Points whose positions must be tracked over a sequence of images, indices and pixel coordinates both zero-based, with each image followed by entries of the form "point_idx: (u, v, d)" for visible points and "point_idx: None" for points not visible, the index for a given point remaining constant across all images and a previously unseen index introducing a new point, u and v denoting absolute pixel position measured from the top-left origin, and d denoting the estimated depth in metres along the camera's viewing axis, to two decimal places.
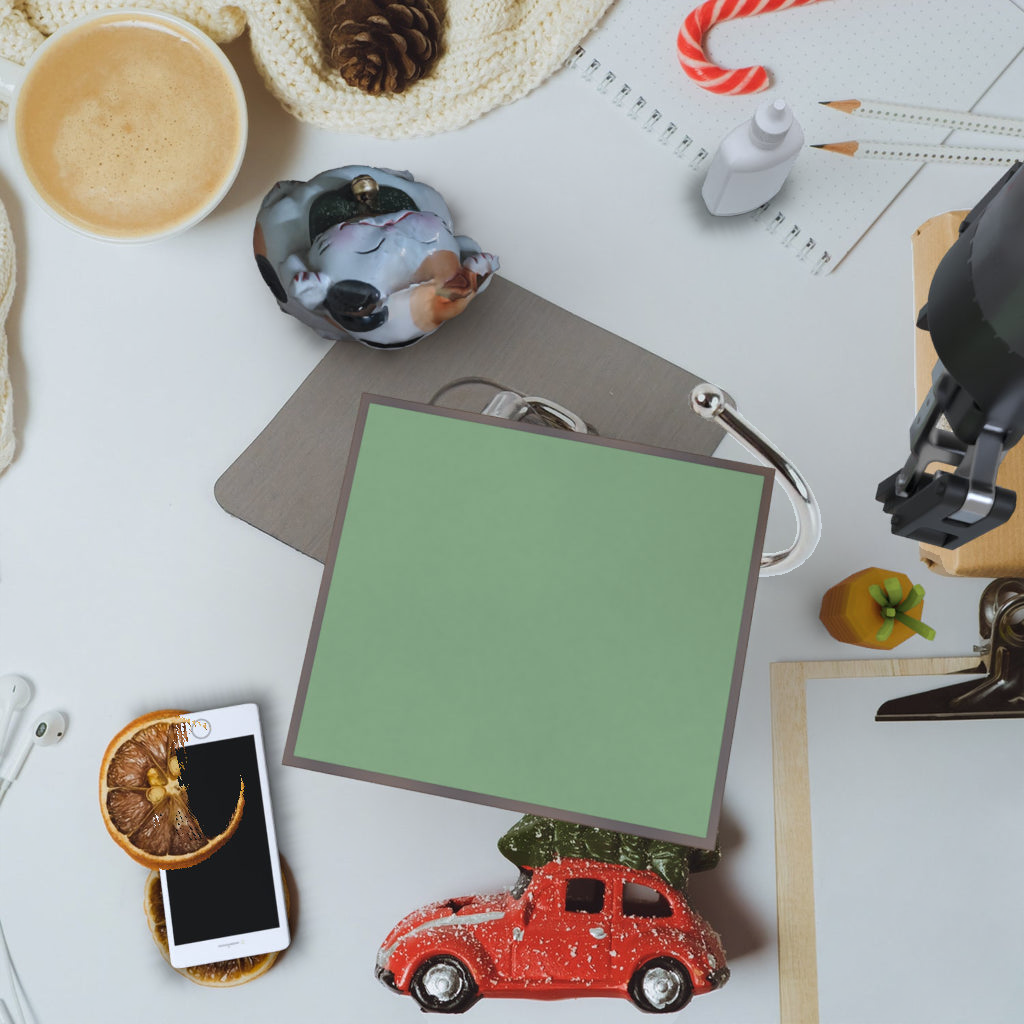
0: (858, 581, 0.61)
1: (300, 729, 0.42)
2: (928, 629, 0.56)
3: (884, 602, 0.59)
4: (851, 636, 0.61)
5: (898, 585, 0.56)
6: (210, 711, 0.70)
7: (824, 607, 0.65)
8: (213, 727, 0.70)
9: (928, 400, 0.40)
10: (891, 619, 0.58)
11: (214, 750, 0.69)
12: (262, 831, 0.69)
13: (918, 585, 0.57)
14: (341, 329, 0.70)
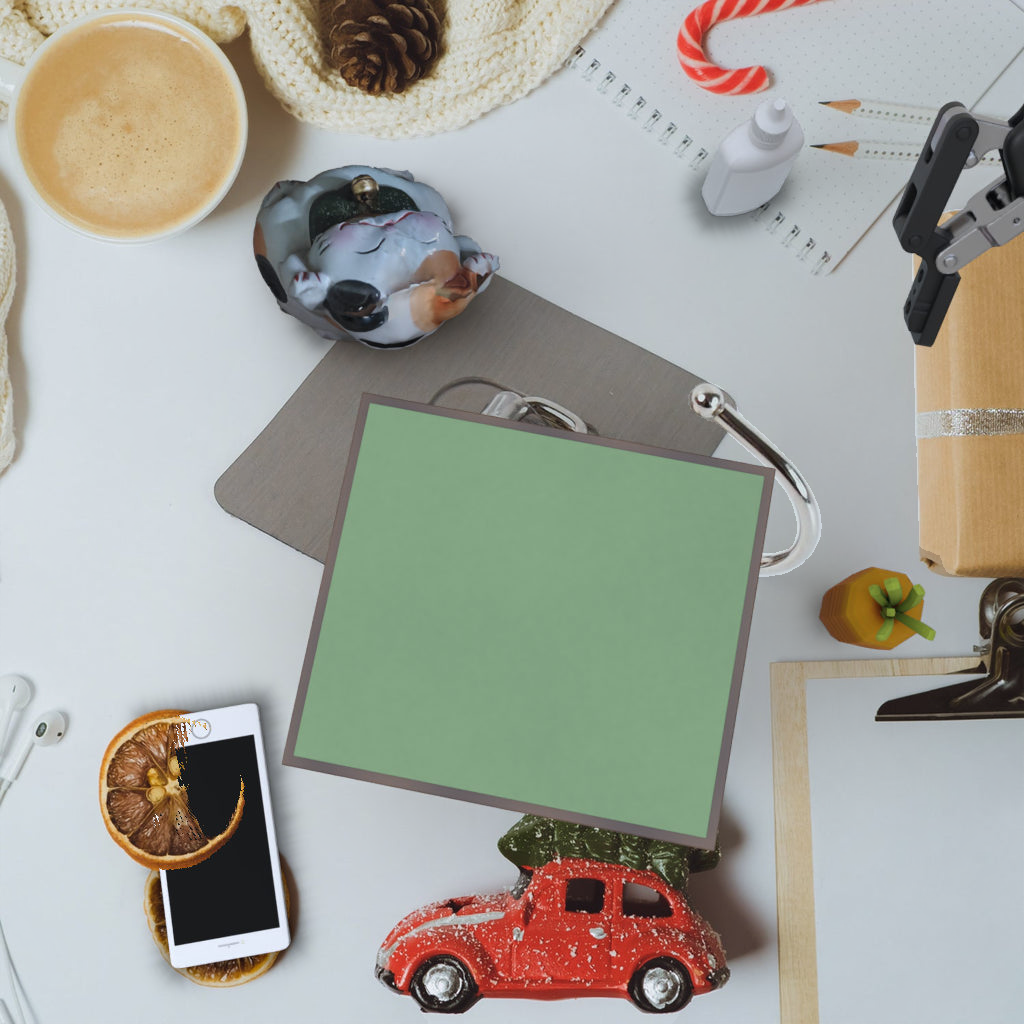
0: (858, 581, 0.61)
1: (300, 729, 0.42)
2: (928, 629, 0.56)
3: (884, 602, 0.59)
4: (851, 636, 0.61)
5: (898, 585, 0.56)
6: (210, 711, 0.70)
7: (824, 607, 0.65)
8: (213, 727, 0.70)
9: None
10: (891, 619, 0.58)
11: (214, 750, 0.69)
12: (262, 831, 0.69)
13: (918, 585, 0.57)
14: (341, 329, 0.70)
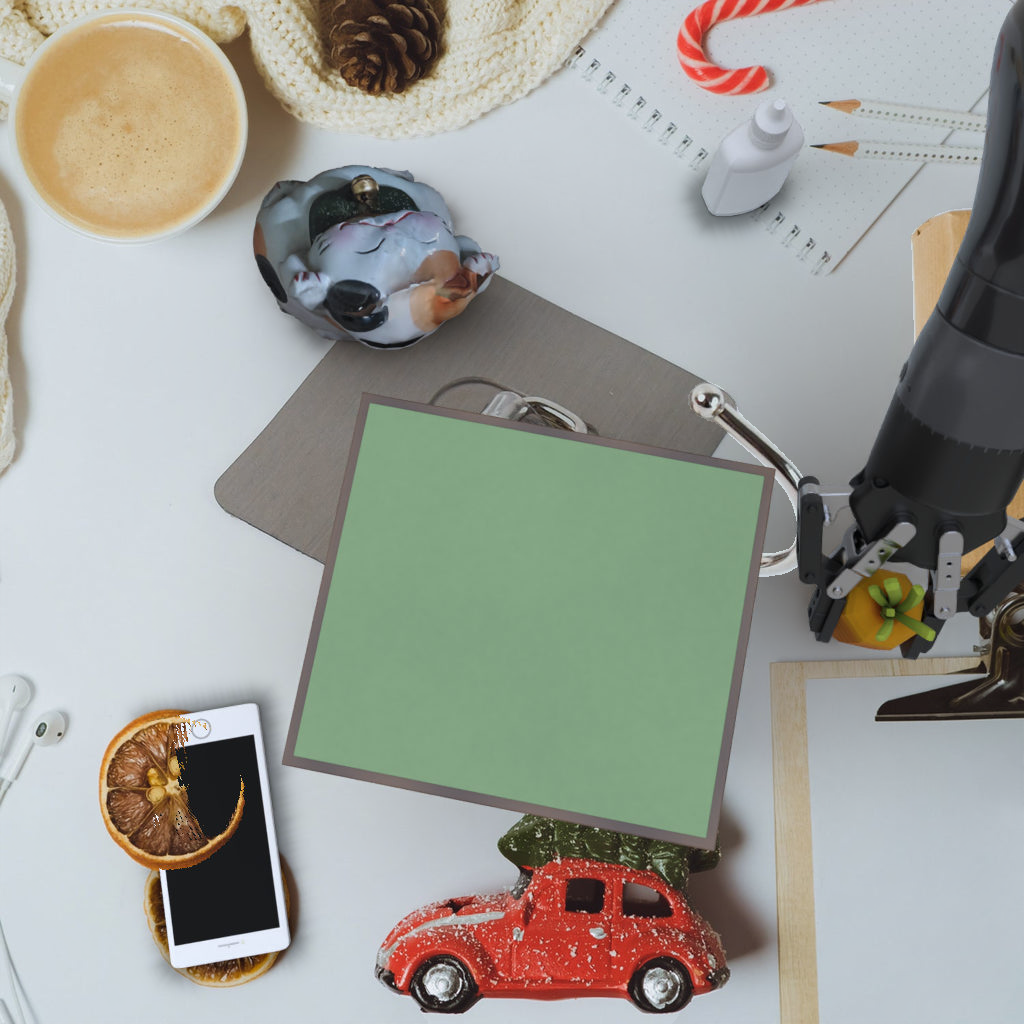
0: None
1: (300, 729, 0.42)
2: (928, 630, 0.56)
3: (884, 602, 0.59)
4: (851, 636, 0.61)
5: (898, 585, 0.56)
6: (210, 711, 0.70)
7: None
8: (213, 727, 0.70)
9: None
10: (891, 619, 0.58)
11: (214, 750, 0.69)
12: (262, 831, 0.69)
13: (918, 585, 0.57)
14: (341, 329, 0.70)
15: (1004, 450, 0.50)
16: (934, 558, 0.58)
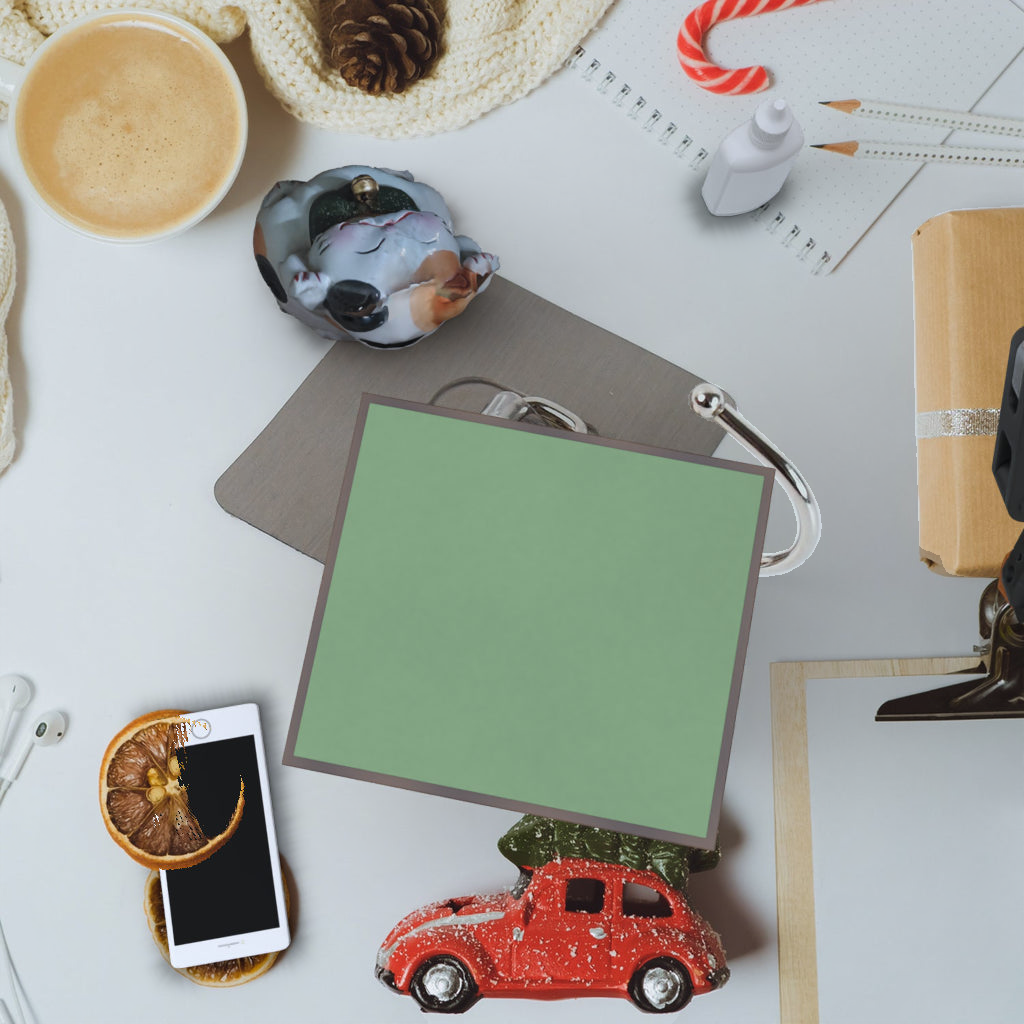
0: None
1: (300, 729, 0.42)
2: None
3: None
4: None
5: None
6: (210, 711, 0.70)
7: None
8: (213, 727, 0.70)
9: None
10: None
11: (214, 750, 0.69)
12: (262, 831, 0.69)
13: None
14: (341, 329, 0.70)
15: None
16: None
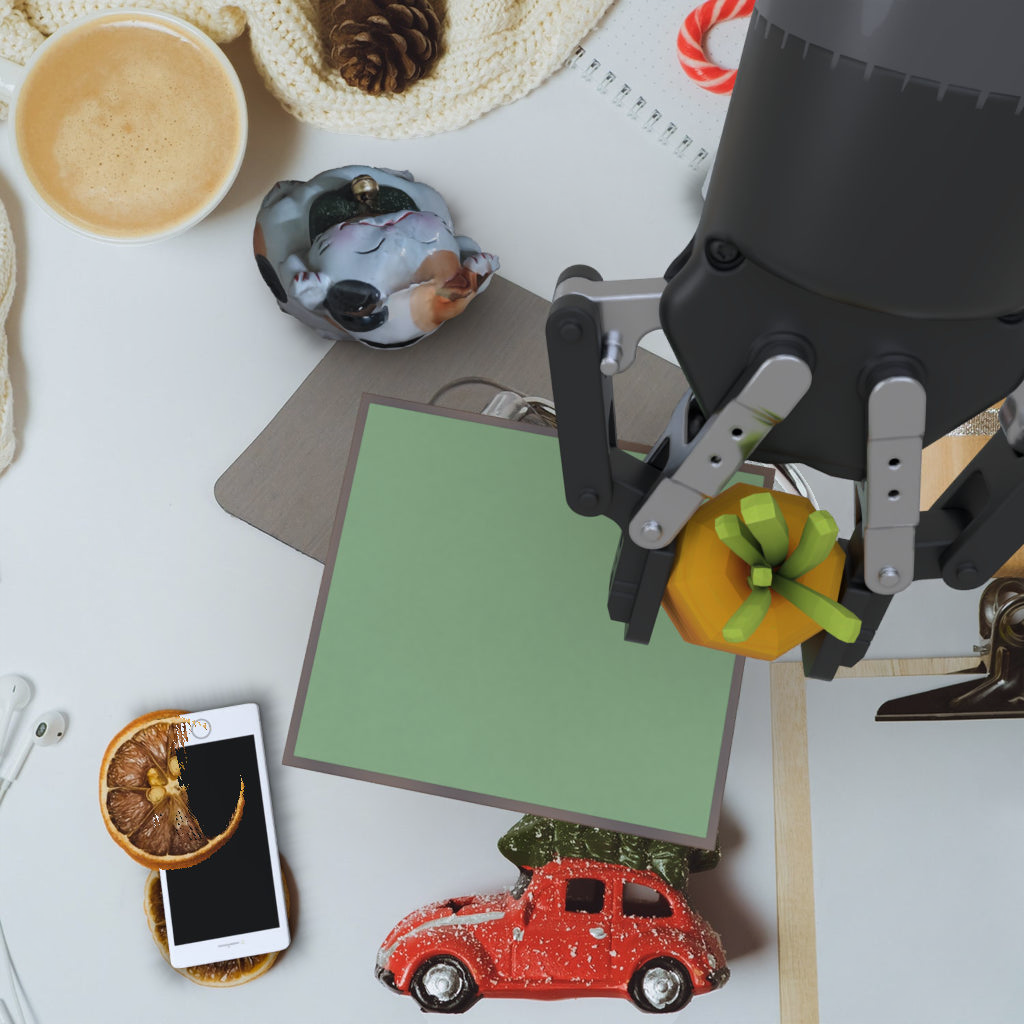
0: (704, 511, 0.28)
1: (300, 729, 0.42)
2: (844, 616, 0.24)
3: (753, 555, 0.26)
4: (692, 631, 0.29)
5: (772, 510, 0.24)
6: (210, 711, 0.70)
7: None
8: (213, 727, 0.70)
9: None
10: (763, 593, 0.25)
11: (214, 750, 0.69)
12: (262, 831, 0.69)
13: (822, 513, 0.24)
14: (341, 329, 0.70)
15: None
16: (861, 452, 0.25)
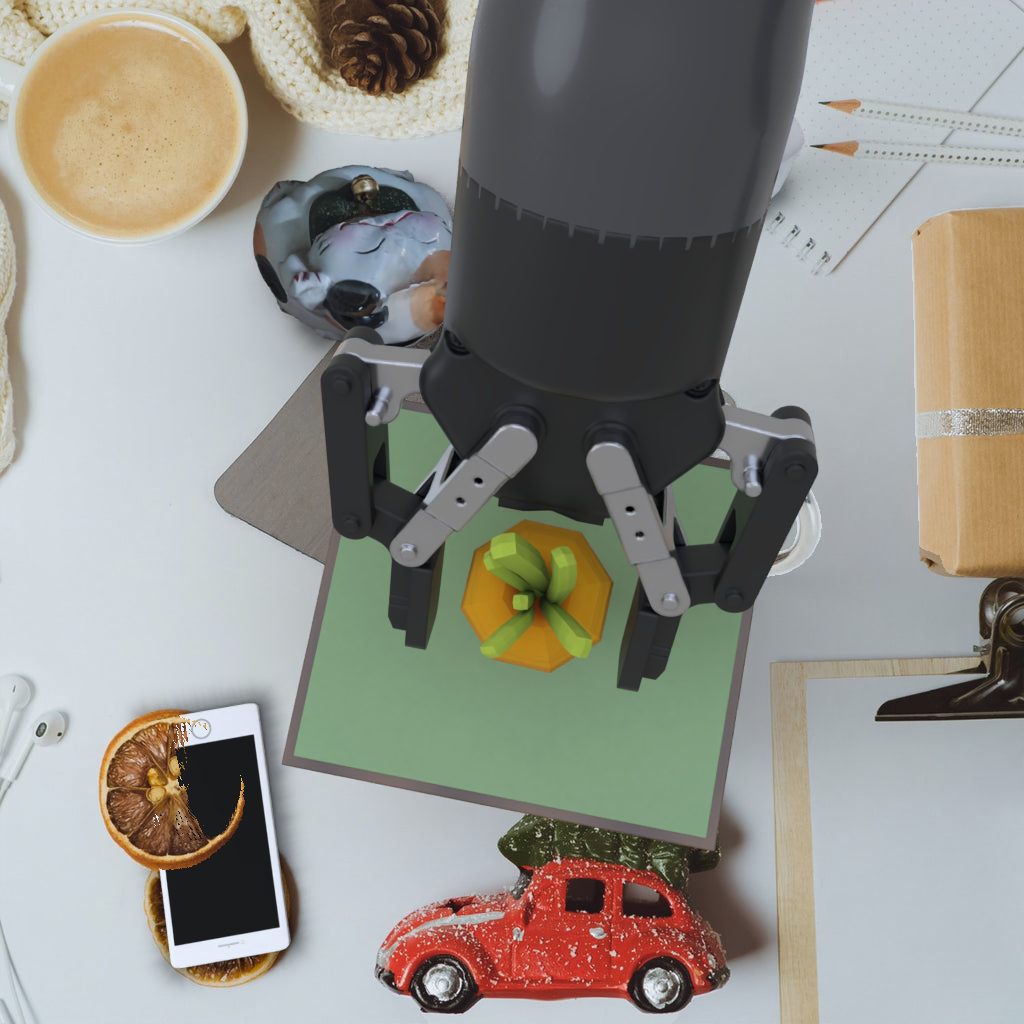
0: (490, 545, 0.33)
1: (300, 729, 0.42)
2: (575, 636, 0.28)
3: (520, 583, 0.31)
4: None
5: (514, 548, 0.28)
6: (210, 711, 0.70)
7: None
8: (213, 727, 0.70)
9: None
10: (522, 615, 0.30)
11: (214, 750, 0.69)
12: (262, 831, 0.69)
13: (563, 549, 0.29)
14: (341, 329, 0.70)
15: (644, 237, 0.22)
16: (597, 501, 0.29)
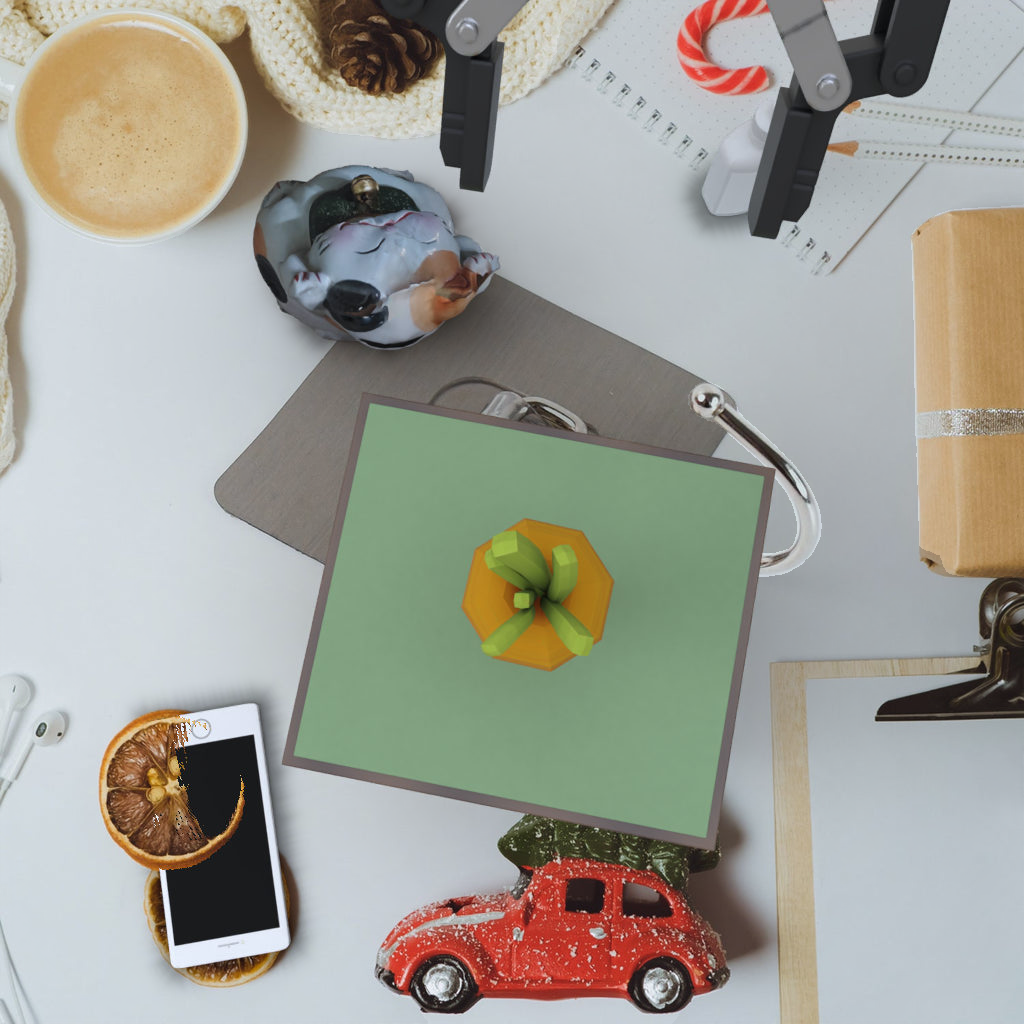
0: (491, 543, 0.33)
1: (300, 729, 0.42)
2: (577, 634, 0.28)
3: (521, 582, 0.31)
4: None
5: (515, 546, 0.28)
6: (210, 711, 0.70)
7: None
8: (213, 727, 0.70)
9: None
10: (523, 614, 0.30)
11: (214, 750, 0.69)
12: (262, 831, 0.69)
13: (564, 547, 0.29)
14: (341, 329, 0.70)
15: None
16: None
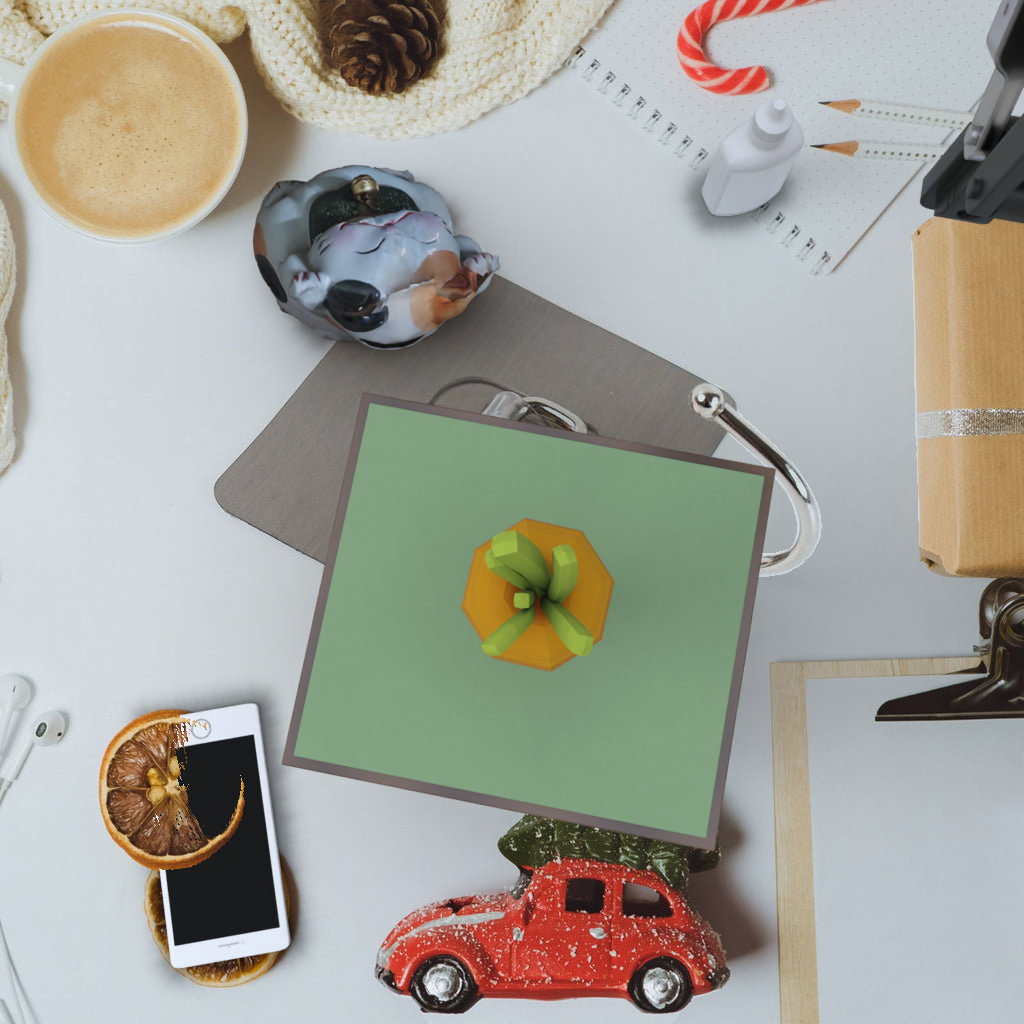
0: (491, 543, 0.33)
1: (300, 729, 0.42)
2: (577, 634, 0.28)
3: (521, 582, 0.31)
4: None
5: (515, 546, 0.28)
6: (210, 711, 0.70)
7: None
8: (213, 727, 0.70)
9: None
10: (523, 614, 0.30)
11: (214, 750, 0.69)
12: (262, 831, 0.69)
13: (564, 547, 0.29)
14: (341, 329, 0.70)
15: None
16: None
